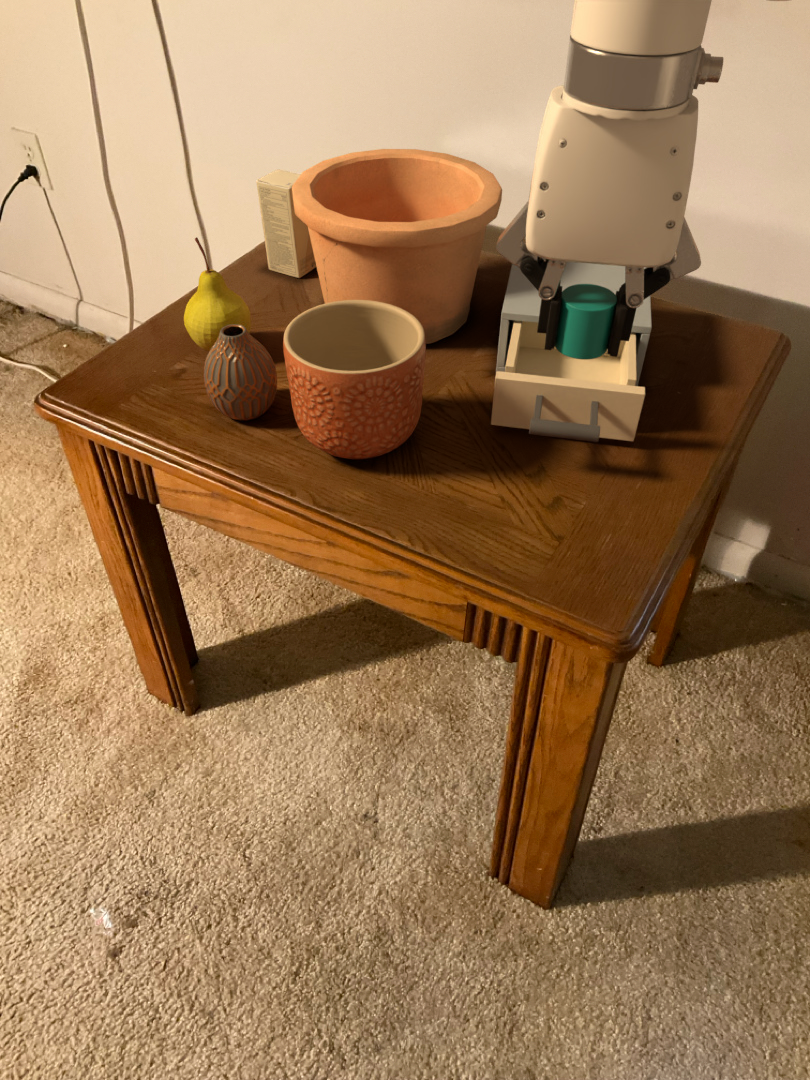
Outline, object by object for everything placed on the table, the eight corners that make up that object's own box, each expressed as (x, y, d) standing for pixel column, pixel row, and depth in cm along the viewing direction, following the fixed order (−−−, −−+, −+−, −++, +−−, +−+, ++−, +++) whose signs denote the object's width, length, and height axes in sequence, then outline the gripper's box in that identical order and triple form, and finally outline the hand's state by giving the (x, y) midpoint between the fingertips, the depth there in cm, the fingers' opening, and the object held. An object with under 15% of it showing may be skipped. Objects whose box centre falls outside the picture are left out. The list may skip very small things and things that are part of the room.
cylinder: (607, 334, 63) (617, 285, 60) (607, 362, 60) (617, 313, 57) (555, 329, 63) (562, 281, 61) (552, 356, 61) (560, 307, 58)
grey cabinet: (637, 388, 84) (651, 327, 79) (495, 373, 86) (501, 312, 81) (635, 317, 94) (649, 259, 89) (509, 305, 96) (515, 247, 91)
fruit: (264, 355, 88) (250, 248, 80) (205, 373, 86) (183, 265, 77) (239, 327, 93) (223, 223, 84) (181, 343, 90) (159, 237, 82)
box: (320, 266, 103) (313, 176, 95) (299, 279, 101) (290, 188, 93) (286, 255, 105) (277, 167, 97) (265, 269, 103) (254, 178, 95)
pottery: (497, 362, 87) (509, 231, 77) (292, 360, 88) (277, 229, 78) (487, 268, 103) (496, 148, 93) (312, 266, 103) (302, 146, 93)
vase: (245, 438, 78) (232, 359, 72) (195, 412, 81) (179, 333, 75) (295, 405, 82) (286, 326, 76) (245, 381, 85) (233, 304, 79)
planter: (388, 492, 73) (387, 388, 65) (268, 454, 76) (254, 352, 69) (443, 417, 81) (448, 316, 73) (333, 386, 84) (326, 287, 77)
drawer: (633, 477, 73) (646, 429, 69) (484, 458, 75) (488, 410, 71) (632, 363, 86) (643, 318, 82) (505, 350, 88) (509, 305, 84)
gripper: (765, 64, 51) (691, 329, 63) (494, 49, 53) (475, 309, 65) (784, 102, 45) (698, 383, 58) (482, 84, 47) (464, 359, 60)
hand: (581, 341), depth 62 cm, fingers closed on cylinder, 4 cm apart
